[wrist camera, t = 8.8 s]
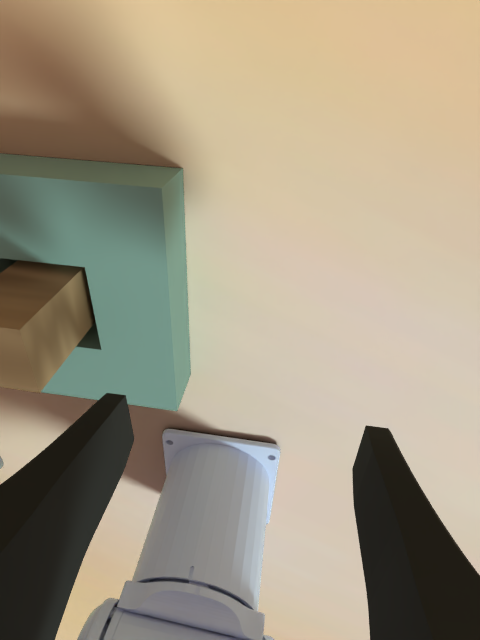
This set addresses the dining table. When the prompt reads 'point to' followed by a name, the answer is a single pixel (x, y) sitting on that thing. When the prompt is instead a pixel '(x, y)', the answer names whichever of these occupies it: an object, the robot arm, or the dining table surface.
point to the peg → (40, 321)
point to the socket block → (108, 268)
